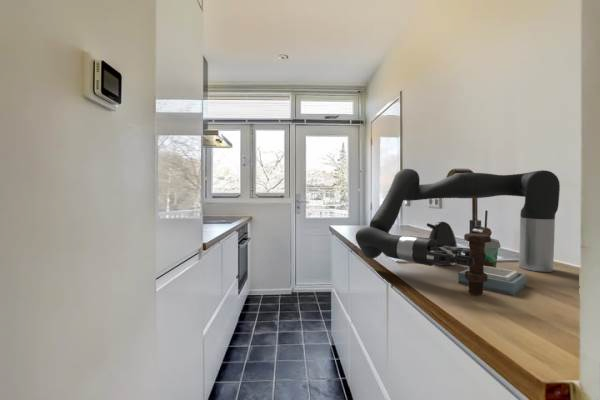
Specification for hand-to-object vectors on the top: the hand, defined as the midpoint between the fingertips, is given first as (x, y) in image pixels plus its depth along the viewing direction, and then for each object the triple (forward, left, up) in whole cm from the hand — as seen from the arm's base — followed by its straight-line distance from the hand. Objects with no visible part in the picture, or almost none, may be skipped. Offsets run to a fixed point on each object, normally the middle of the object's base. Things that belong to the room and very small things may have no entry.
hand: (479, 259), depth 75 cm
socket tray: (-13, -1, -9) cm, 16 cm away
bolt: (0, -1, -9) cm, 9 cm away
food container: (-31, -7, -9) cm, 33 cm away
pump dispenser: (-27, -21, -9) cm, 35 cm away
